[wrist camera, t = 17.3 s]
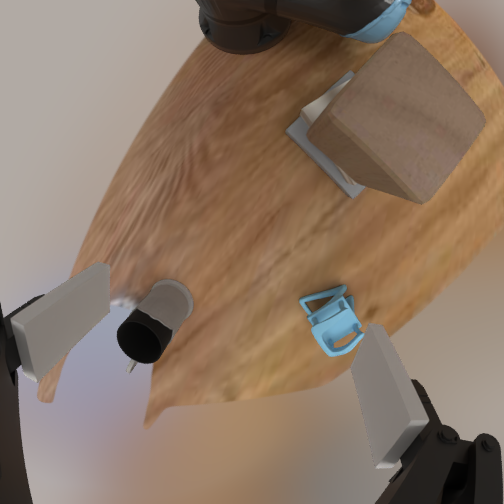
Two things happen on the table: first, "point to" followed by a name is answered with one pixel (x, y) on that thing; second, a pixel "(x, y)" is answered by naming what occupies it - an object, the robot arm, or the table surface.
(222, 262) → the table surface
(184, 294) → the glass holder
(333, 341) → the chair
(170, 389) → the table surface
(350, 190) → the tower base
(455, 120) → the block
